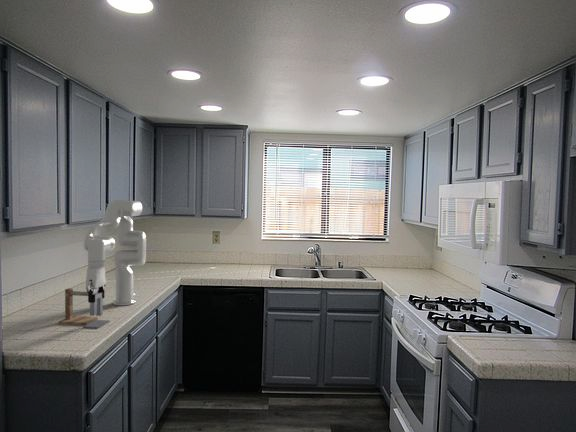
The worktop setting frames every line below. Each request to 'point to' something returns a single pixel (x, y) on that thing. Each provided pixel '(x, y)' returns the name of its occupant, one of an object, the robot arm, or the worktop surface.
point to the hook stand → (69, 310)
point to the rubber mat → (96, 324)
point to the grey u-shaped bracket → (97, 305)
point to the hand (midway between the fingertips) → (96, 300)
